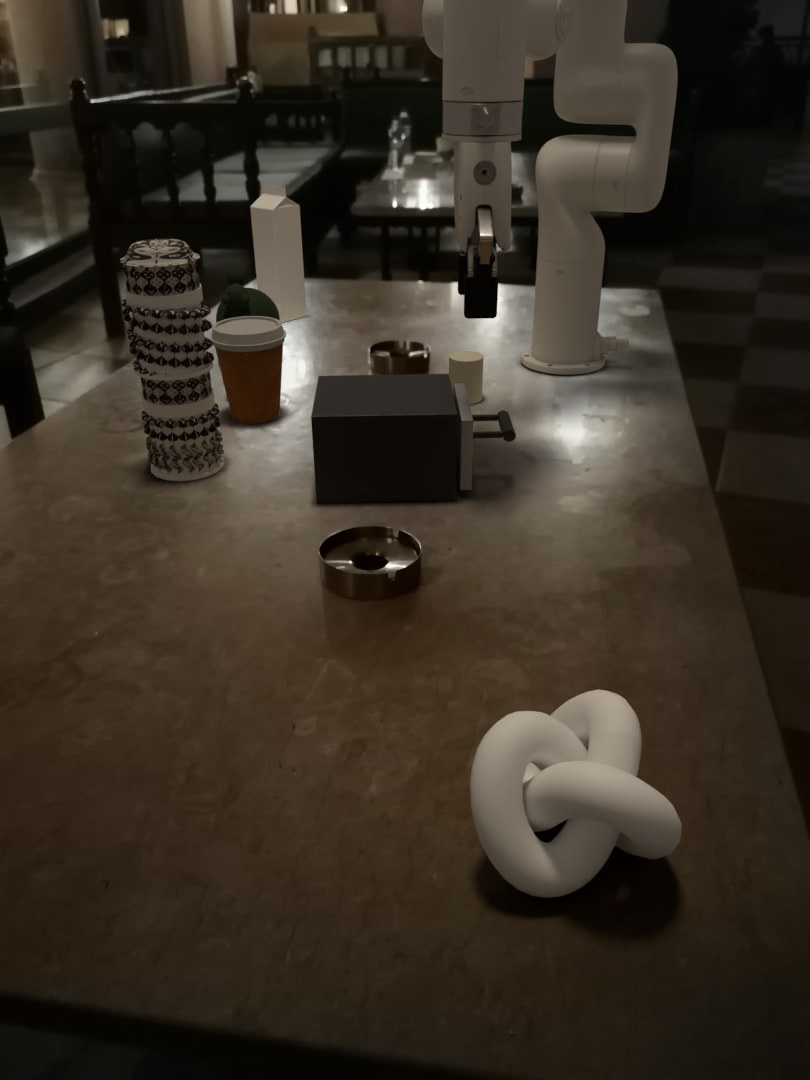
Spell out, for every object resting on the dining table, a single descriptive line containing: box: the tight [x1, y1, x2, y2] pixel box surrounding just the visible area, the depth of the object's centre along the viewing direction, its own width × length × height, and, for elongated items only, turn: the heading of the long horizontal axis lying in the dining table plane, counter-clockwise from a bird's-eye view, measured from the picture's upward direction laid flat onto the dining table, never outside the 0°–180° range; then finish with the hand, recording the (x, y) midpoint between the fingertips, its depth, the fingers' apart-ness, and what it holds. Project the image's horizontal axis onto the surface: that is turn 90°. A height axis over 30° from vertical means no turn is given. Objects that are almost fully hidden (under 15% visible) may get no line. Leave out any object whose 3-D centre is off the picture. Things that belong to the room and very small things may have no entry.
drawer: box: [453, 383, 517, 491], centre depth 100 cm, size 18×12×8 cm, turn 91°
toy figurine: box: [215, 259, 280, 323], centre depth 131 cm, size 9×19×25 cm
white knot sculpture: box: [469, 688, 683, 899], centre depth 53 cm, size 11×12×9 cm
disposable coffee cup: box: [209, 316, 287, 425], centre depth 116 cm, size 10×10×12 cm
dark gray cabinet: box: [310, 373, 457, 504], centre depth 99 cm, size 15×13×10 cm
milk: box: [249, 184, 307, 324], centre depth 157 cm, size 6×6×22 cm
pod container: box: [448, 350, 484, 405], centre depth 122 cm, size 5×5×6 cm
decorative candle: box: [119, 238, 225, 482], centre depth 99 cm, size 9×9×25 cm
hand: (476, 305), depth 93 cm, fingers open, 9 cm apart
